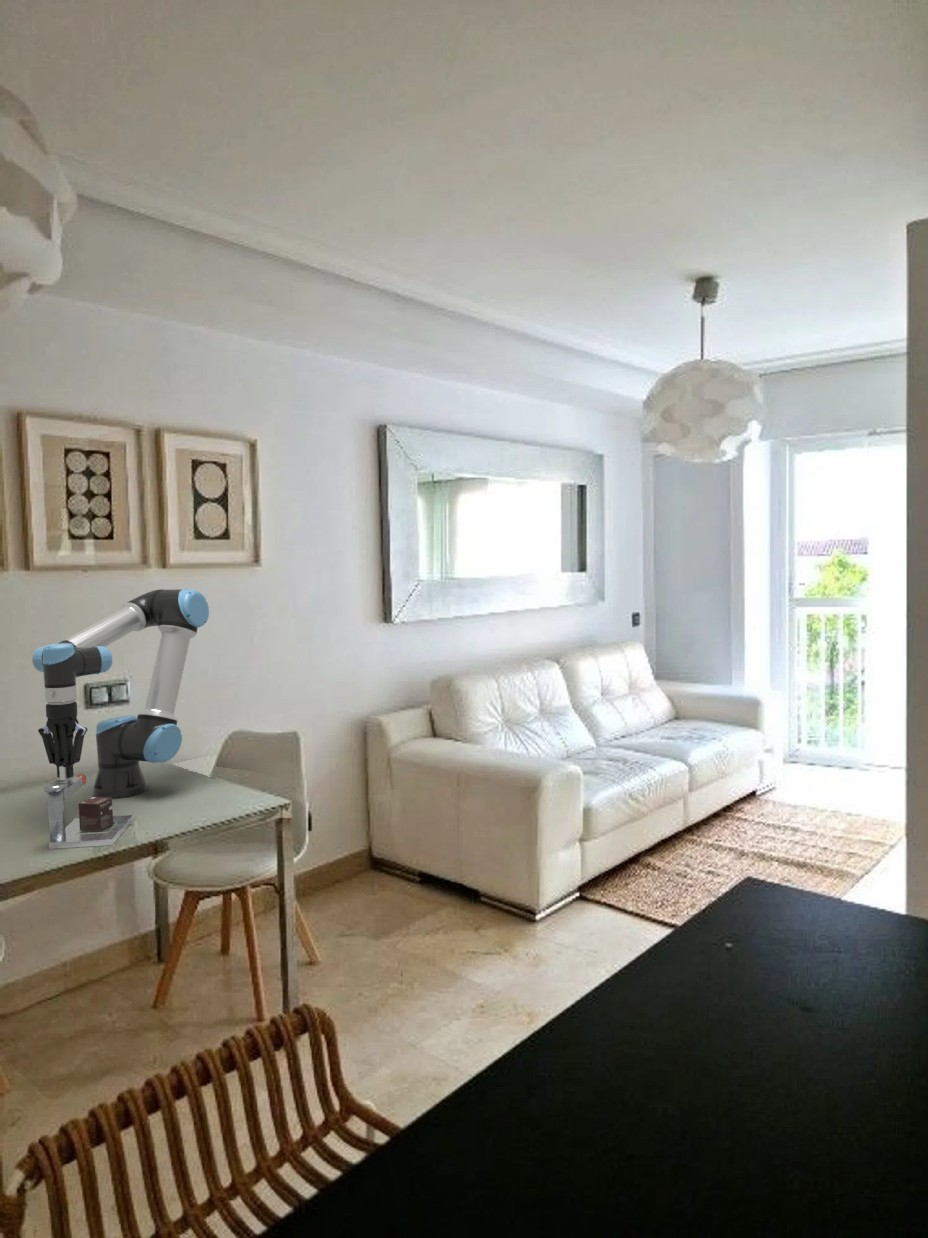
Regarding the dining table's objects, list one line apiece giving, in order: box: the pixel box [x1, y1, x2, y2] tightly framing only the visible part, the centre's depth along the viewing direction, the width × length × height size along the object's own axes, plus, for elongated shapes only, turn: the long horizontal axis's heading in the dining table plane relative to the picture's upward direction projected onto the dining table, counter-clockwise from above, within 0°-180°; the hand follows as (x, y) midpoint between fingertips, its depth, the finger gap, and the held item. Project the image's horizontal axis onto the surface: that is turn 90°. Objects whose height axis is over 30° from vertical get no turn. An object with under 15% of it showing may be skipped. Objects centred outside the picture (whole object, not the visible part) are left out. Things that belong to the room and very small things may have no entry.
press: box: [46, 790, 134, 850], centre depth 220 cm, size 20×15×14 cm
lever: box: [43, 773, 87, 803], centre depth 220 cm, size 23×5×5 cm, turn 7°
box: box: [78, 796, 114, 831], centre depth 220 cm, size 6×6×7 cm
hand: (66, 789), depth 225 cm, fingers closed
